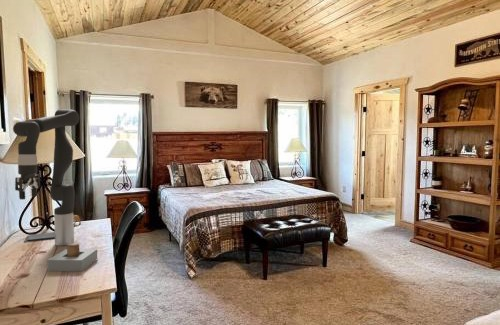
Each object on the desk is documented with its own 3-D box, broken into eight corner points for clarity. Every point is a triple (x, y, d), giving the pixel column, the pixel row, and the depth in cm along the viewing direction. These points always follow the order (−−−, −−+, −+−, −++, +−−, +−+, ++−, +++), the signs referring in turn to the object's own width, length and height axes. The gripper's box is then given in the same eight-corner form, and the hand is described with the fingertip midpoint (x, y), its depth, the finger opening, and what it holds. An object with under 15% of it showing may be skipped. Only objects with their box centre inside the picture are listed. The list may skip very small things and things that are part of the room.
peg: (71, 262, 154) (70, 243, 153) (81, 262, 154) (81, 243, 153) (65, 266, 149) (64, 246, 148) (76, 266, 149) (75, 246, 148)
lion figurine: (64, 228, 214) (64, 215, 213) (58, 227, 216) (58, 214, 215) (83, 223, 227) (83, 211, 227) (77, 222, 230) (77, 210, 229)
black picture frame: (22, 240, 183) (27, 233, 197) (22, 244, 183) (27, 236, 197) (63, 236, 192) (65, 230, 205) (63, 239, 192) (65, 233, 206)
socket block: (66, 259, 158) (66, 248, 158) (97, 259, 159) (97, 249, 158) (47, 271, 143) (47, 259, 143) (81, 271, 144) (81, 260, 143)
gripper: (25, 164, 147) (26, 200, 148) (44, 163, 161) (45, 195, 162) (8, 164, 147) (9, 200, 148) (29, 162, 161) (30, 195, 162)
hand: (28, 197), depth 155 cm, fingers open, 8 cm apart
